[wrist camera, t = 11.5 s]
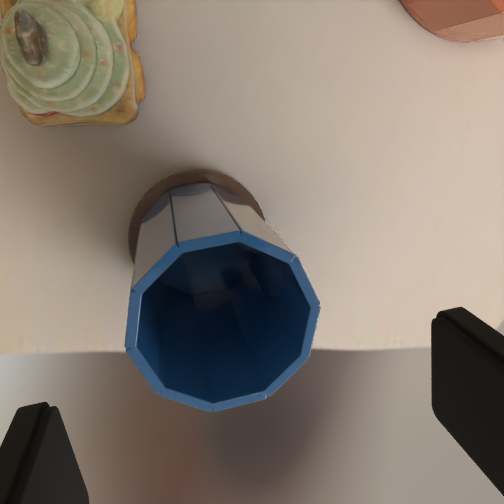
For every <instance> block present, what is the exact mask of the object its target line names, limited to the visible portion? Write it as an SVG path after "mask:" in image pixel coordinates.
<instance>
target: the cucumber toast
mask: <svg viewBox="0 0 504 504" xmlns="http://www.w3.org/2000/svg"><path fill="white" fill-rule="evenodd" d="M0 5H1V12H2V18H3V22H2V25H1V28H0V61H1V64H2V67H3V70H4V72H5V74H6V76H7V80H6V85H7V89H8V92H9V94H10V96H11V97H12V98H13V100H14V101H15V102H16V103H17V104H19V106H20V110H21V112H22V114H23V115H24V117H26V118H27V119H28V120H29V121H30V122H31V123H33V124H35V125H40V126H75V125H126V124H129V123H131V122H132V121H134V120H135V119H136V117H137V115H138V106H139V103H140V102H141V101H142V100H143V99H144V97H145V80H144V72H143V66H142V62H141V58H140V56H139V54H138V53H137V52H136V51H134V50H133V49H132V48H131V44H132V43H133V41H134V40H135V38H136V36H137V13H136V0H0Z"/></svg>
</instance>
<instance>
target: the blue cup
mask: <svg viewBox="0 0 504 504" xmlns="http://www.w3.org/2000/svg"><path fill="white" fill-rule="evenodd" d="M319 305H320V302H319V300H318V298H317V296H316V294H315V291H314V289H313V287H312V285H311V283H310V281H309V279H308V277H307V275H306V273H305V271H304V269H303V267H302V265H301V263H300V261H299V259H298V257H297V256H296V255H295V254H294V253H293V252H292V251H291V250H290V248H289V247H288V246H287V245H286V244H285V243H284V242H283V241H282V240H281V239H280V238H279V237H278V236H277V235H276V233H275V232H274V231H273V230H272V229H271V228H270V227H269V226H268V225H267V224H266V223H265V222H264V221H263V219H262V218H261V217H260V216H259V215H258V214H257V213H256V212H255V211H254V210H253V209H252V208H251V207H250V206H249V204H248V203H247V202H246V201H245V200H244V199H243V198H241V197H239V196H237V195H235V194H233V193H231V192H230V191H228V190H226V189H224V188H221V187H219V186H216V185H214V184H212V183H210V184H209V183H208V182H207V183H195V184H188V185H183V186H180V187H177V188H173V189H170V191H169V190H168V191H167V192H166V193H165V194H164V195H163V196H161V197H160V198H159V199H158V200H157V201H156V202H155V203H154V204H153V205H152V206H151V208H150V209H149V210H148V212H147V213H146V214H145V215H144V216H143V217H142V220H141V223H140V230H139V236H138V243H137V249H136V256H135V263H134V269H133V276H132V282H131V289H130V297H129V307H128V317H127V327H126V337H125V348H126V352H127V353H128V355H129V356H130V357H131V359H132V361H133V362H134V363H135V365H136V366H137V367H138V369H139V370H140V372H141V373H142V375H143V376H144V377H145V379H146V380H147V382H148V383H149V384H150V386H151V387H152V389H153V390H154V392H155V393H156V394H157V393H159V396H161V397H165V398H168V399H171V400H174V401H177V402H180V403H184V404H186V405H189V406H193V407H196V408H199V409H202V410H205V411H209V412H210V411H211V410H213V412H216V411H220V410H224V409H228V408H232V407H236V406H240V405H244V404H248V403H252V402H256V401H260V400H264V399H266V398H267V397H266V395H267V396H268V397H270V396H271V395H272V394H273V393H274V392H275V391H277V390H278V389H279V388H280V387H281V386H282V385H283V383H285V382H286V381H287V380H288V379H289V378H290V377H291V376H292V375H293V374H294V373H295V372H296V371H297V370H298V369H299V368H300V367H301V366H302V365H303V364H304V363H305V362H306V361H307V360H308V359H307V357H309V356H310V352H311V348H312V344H313V339H314V335H315V330H316V326H317V321H318V317H319V312H320V306H319Z"/></svg>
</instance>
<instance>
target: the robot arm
mask: <svg viewBox="0 0 504 504" xmlns="http://www.w3.org/2000/svg"><path fill="white" fill-rule="evenodd" d="M431 350H432V352H431V356H432V357H431V358H432V360H431V361H432V364H431V365H432V408H433V411H434V414H435V416H436V417H437V419H438V420H439V421H440V422H441V424H442V425H443V426H444V427H445V428H446V429H447V431H448V432H449V433H450V434H451V435H452V436H453V438H454V439H455V440H456V441H457V442H458V443H459V445H460V446H461V447H462V448H463V449H464V450H465V452H466V453H467V454H468V455H469V456H470V457H471V458H472V460H473V461H474V462H475V463H476V464H477V465H478V467H479V468H480V469H481V470H482V471H483V472H484V474H485V475H486V476H487V477H488V478H489V480H490V481H491V482H492V483H493V484H494V485H495V486H496V488H497V489H498V490H499V491H500V492H501V493H502V494H503V496H504V336H503V335H502V334H500V333H499V332H498V331H496V330H495V329H493V328H492V327H490V326H489V325H488V324H486V323H485V322H483V321H482V320H480V319H479V318H478V317H476V316H475V315H473V314H472V313H470V312H469V311H467V310H466V309H465V308H462V307H457V308H453V309H448V310H444V311H440V312H438V314H437V316H436V318H435V319H433V320H432V324H431ZM0 504H89V497H88V492H87V489H86V486H85V483H84V480H83V478H82V475H81V472H80V469H79V466H78V463H77V461H76V458H75V455H74V452H73V449H72V446H71V443H70V441H69V438H68V435H67V432H66V429H65V426H64V423H63V421H62V418H61V415H60V412H59V410H58V408H57V407H56V406H52V407H50V406H49V404H48V403H47V402H42V403H37V404H33V405H28V406H24V407H20V408H18V410H17V411H16V414H15V416H14V418H13V420H12V422H11V424H10V427H9V429H8V431H7V433H6V435H5V438H4V440H3V442H2V445H1V447H0Z"/></svg>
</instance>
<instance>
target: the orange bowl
mask: <svg viewBox="0 0 504 504" xmlns="http://www.w3.org/2000/svg"><path fill="white" fill-rule="evenodd" d="M401 2H402V3H403V5H404V7H405V8H406V10H407V11H408V12H409V13H410V15H411V16H412V17H413V18H414V19H415V20H416V21H417V22H418V23H419V24H420V25H421V26H423V27H424V28H425V29H427V30H428V31H430V32H431V33H433V34H435V35H437V36H439V37H442V38H444V39H448V40H452V41H457V42H467V43H468V42H477V41H482V40H489V39H495V38H502V37H504V0H401Z"/></svg>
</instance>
